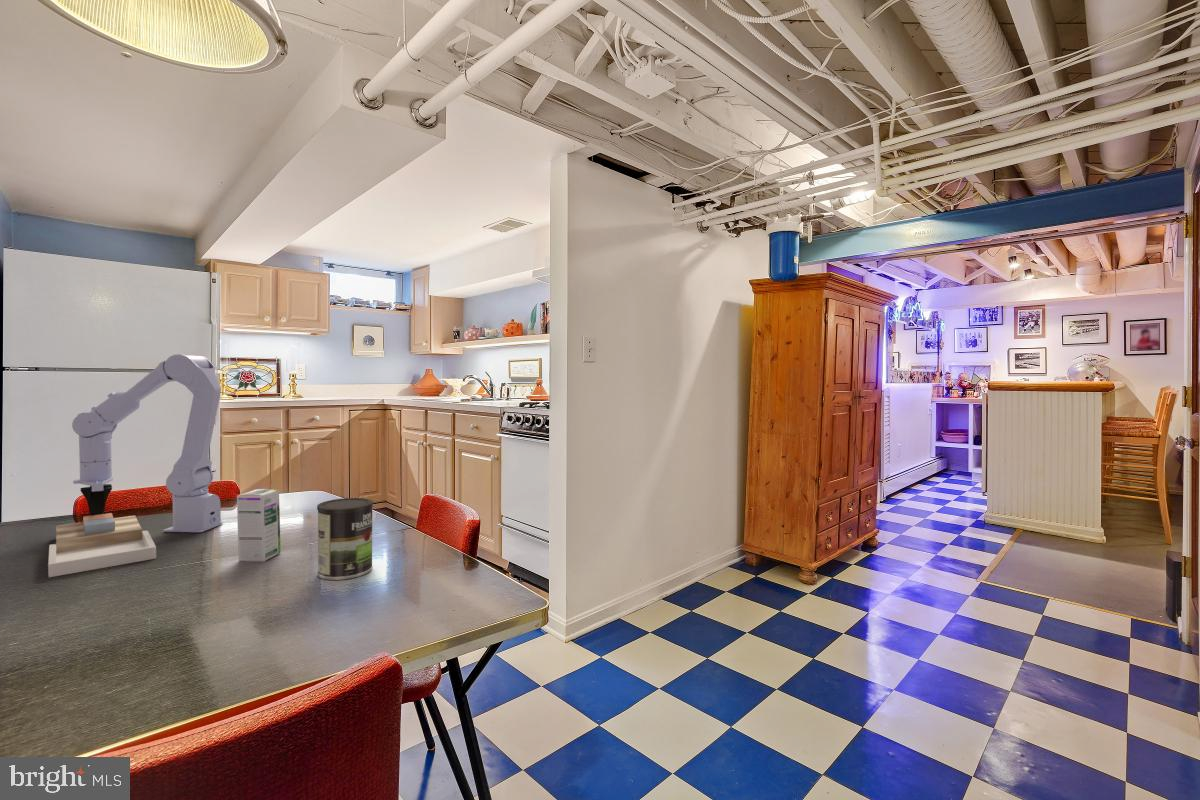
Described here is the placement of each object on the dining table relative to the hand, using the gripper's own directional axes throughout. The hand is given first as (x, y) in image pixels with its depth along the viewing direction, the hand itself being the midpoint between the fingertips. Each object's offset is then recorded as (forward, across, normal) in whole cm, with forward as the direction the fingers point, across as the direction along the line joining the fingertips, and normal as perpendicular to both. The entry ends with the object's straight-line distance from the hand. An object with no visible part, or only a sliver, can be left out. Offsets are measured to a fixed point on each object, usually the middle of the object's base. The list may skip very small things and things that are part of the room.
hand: (96, 515), depth 131 cm
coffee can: (+4, +67, +35) cm, 76 cm away
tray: (+4, +25, 0) cm, 26 cm away
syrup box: (+4, +47, +24) cm, 53 cm away
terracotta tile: (+1, +7, 0) cm, 7 cm away
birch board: (+4, +10, 0) cm, 10 cm away
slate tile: (+1, +13, 0) cm, 13 cm away
